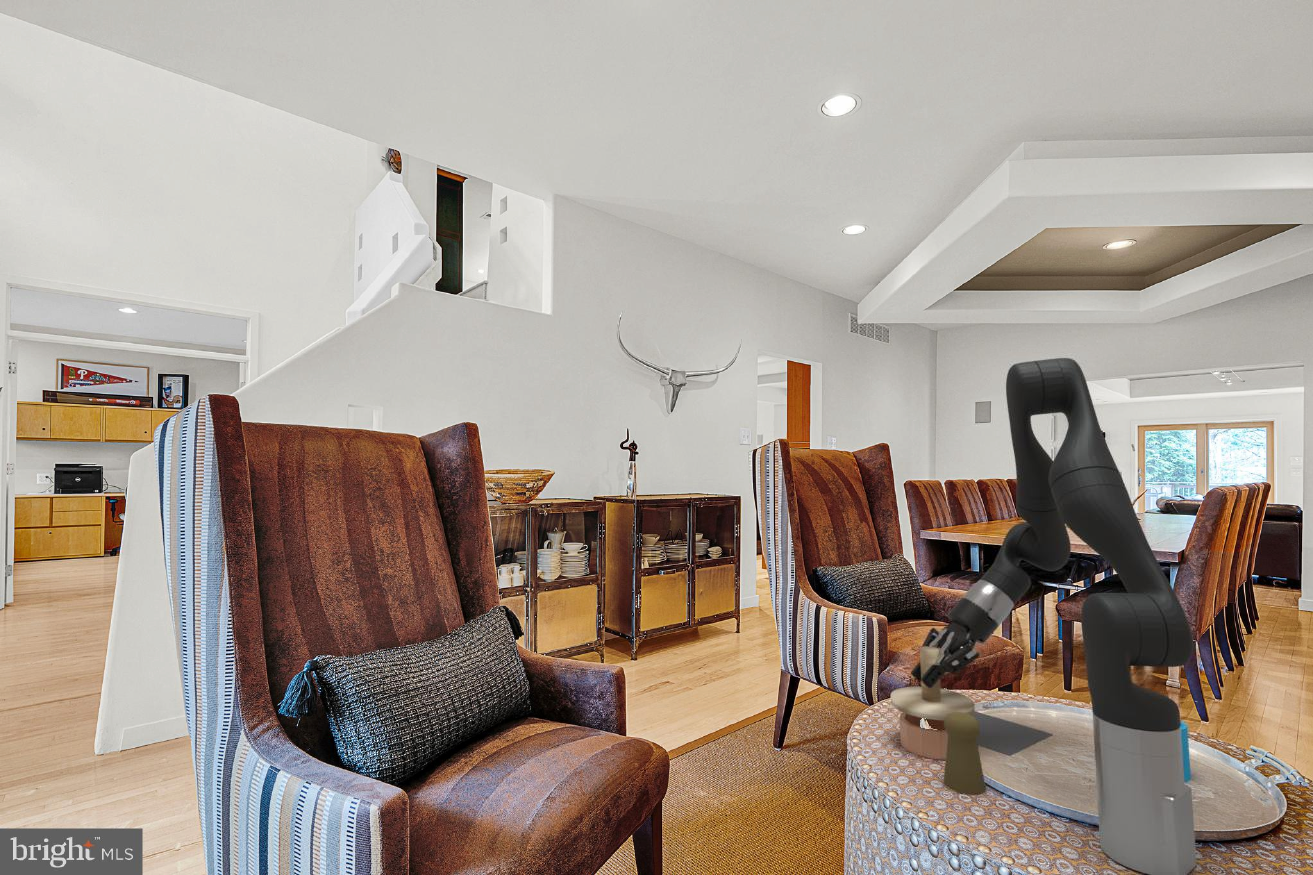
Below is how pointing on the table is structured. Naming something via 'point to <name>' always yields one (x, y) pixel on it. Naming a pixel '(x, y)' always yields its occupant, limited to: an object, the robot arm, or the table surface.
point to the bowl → (923, 737)
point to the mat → (1006, 734)
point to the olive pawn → (963, 754)
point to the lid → (930, 695)
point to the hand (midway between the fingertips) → (920, 680)
